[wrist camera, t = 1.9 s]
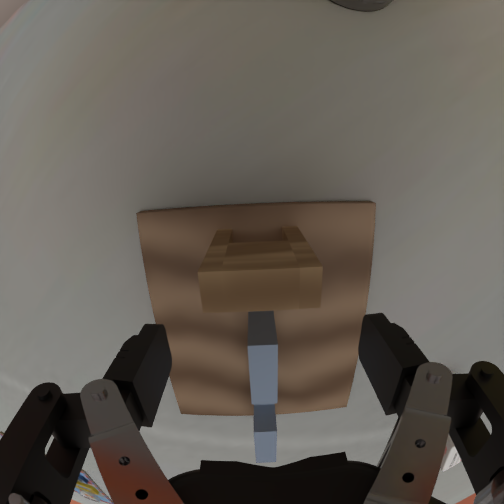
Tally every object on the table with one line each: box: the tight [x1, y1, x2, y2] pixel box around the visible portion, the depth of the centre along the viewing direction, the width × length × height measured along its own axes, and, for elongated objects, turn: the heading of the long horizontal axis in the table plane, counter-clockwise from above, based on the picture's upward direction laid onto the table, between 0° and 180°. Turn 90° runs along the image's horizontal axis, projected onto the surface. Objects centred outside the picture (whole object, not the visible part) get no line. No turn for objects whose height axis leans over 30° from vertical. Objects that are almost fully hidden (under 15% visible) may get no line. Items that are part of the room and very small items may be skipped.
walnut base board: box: [136, 201, 376, 416], centre depth 27 cm, size 24×20×1 cm
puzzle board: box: [0, 432, 114, 504], centre depth 44 cm, size 30×23×3 cm
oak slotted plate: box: [198, 226, 323, 313], centre depth 19 cm, size 2×6×9 cm, turn 93°
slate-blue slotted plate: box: [248, 311, 278, 463], centre depth 24 cm, size 16×2×7 cm, turn 3°
